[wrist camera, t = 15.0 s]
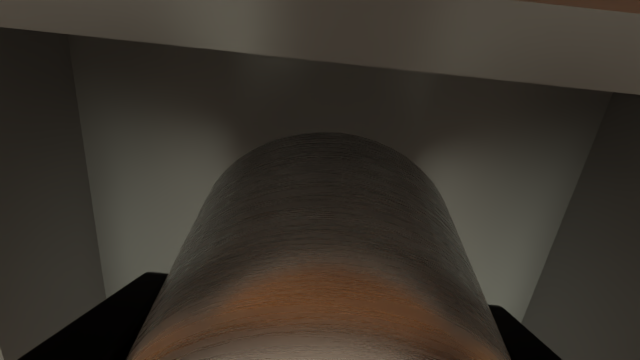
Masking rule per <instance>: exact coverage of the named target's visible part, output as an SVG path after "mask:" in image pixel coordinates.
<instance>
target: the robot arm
mask: <svg viewBox="0 0 640 360" xmlns="http://www.w3.org/2000/svg"><path fill="white" fill-rule="evenodd" d="M167 276H168V273H159V272H146V273H144V274H142V275H141V276H139V277H138V278H136V279H135V280H133V281H132V282H130V283H129V284H127V285H126V286H124V287H123V288H121V289H120V290H118V291H117V292H116V293H114V294H113V295H111V296H110V297H108V298H107V299H105V300H104V301H102V302H101V303H99V304H98V305H96V306H95V307H93V308H92V309H90V310H89V311H88V312H86V313H85V314H83V315H82V316H80V317H79V318H77V319H76V320H74V321H73V322H71V323H70V324H68V325H67V326H65V327H64V328H63V329H61V330H60V331H58V332H57V333H55V334H54V335H52V336H51V337H49V338H48V339H46V340H45V341H43V342H42V343H40V344H39V345H38V346H36V347H35V348H33V349H32V350H30V351H29V352H27V353H26V354H24V355H23V356H21V357H20V358H18V359H17V360H126V358H127V356H128V354H129V352H130V350H131V348H132V346H133V344H134V342H135V340H136V338H137V336H138V334H139V332H140V330H141V328H142V326H143V324H144V322H145V320H146V318H147V316H148V314H149V312H150V310H151V308H152V306H153V304H154V302H155V300H156V298H157V296H158V294H159V292H160V290H161V288H162V286H163V284H164V282H165V280H166V278H167ZM488 306H489V308H490V310H491V313H492V315H493V318H494V320H495V322H496V325H497V327H498V329H499V332H500V334H501V337H502V339H503V341H504V344H505V346H506V348H507V351H508V353H509V356H510V358H511V360H562V359H561V358H560V357H559V356H558V355H557V354H555V353H554V352H553V351H552V350H551V349H550V348H549V347H548V346H546V345H545V344H544V343H543V342H542V341H541V340H540V339H538V338H537V337H536V336H535V335H534V334H533V333H532V332H530V331H529V330H528V329H527V328H526V327H525V326H524V325H523V324H521V323H520V322H519V321H518V320H517V319H516V318H515V317H513V316H512V315H511V314H510V313H509V312H508V311H507V310H505V309H504V308H503V307H501V306H499V305H491V304H488Z"/></svg>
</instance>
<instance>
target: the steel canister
mask: <svg viewBox="0 0 640 360" xmlns="http://www.w3.org/2000/svg"><path fill="white" fill-rule="evenodd" d="M126 360H511V358H510V356H509V353H508V351H507V348H506V346H505V344H504V341H503V339H502V337H501V334H500V332H499V329H498V327H497V325H496V322H495V320H494V318H493V315H492V313H491V310H490V308H489V306H488V303H487V301H486V299H485V296H484V294H483V292H482V289H481V287H480V284H479V282H478V280H477V277H476V275H475V273H474V270H473V268H472V265H471V263H470V261H469V258H468V256H467V254H466V251H465V249H464V246H463V244H462V242H461V239H460V237H459V235H458V232H457V230H456V227H455V225H454V223H453V220H452V218H451V216H450V213H449V211H448V209H447V206H446V204H445V202H444V200H443V198H442V196H441V194H440V192H439V191H438V189H437V188H436V186H435V185H434V183H433V182H432V180H431V179H430V178H429V177H428V176H427V175H426V174H425V173H424V172H423V170H422V169H421V168H420V167H418V166H417V165H416V164H415V163H413V162H412V161H411V160H410V159H409V158H407V157H406V156H404V155H402V154H401V153H399V152H398V151H396V150H394V149H393V148H391V147H388V146H386V145H384V144H381V143H379V142H377V141H374V140H371V139H368V138H364V137H361V136H357V135H351V134H345V133H339V132H311V133H300V134H296V135H291V136H286V137H282V138H279V139H276V140H273V141H271V142H268V143H265V144H263V145H261V146H259V147H257V148H255V149H253V150H251V151H250V152H248V153H247V154H245V155H244V156H242V157H241V158H239V159H238V160H236V161H235V162H234V163H233V164H232V165H231V166H230V167H229V168H228V169H227V170H225V171H224V173H223V174H222V175H221V176H220V177H219V179H218V180H217V181H216V182H215V184H214V185H213V187H212V189H211V190H210V192H209V194H208V196H207V197H206V199H205V201H204V203H203V205H202V207H201V209H200V211H199V213H198V215H197V217H196V219H195V221H194V223H193V225H192V227H191V229H190V231H189V233H188V235H187V237H186V239H185V241H184V243H183V246H182V248H181V250H180V252H179V254H178V256H177V258H176V260H175V262H174V264H173V266H172V268H171V270H170V272H169V274H168V276H167V278H166V280H165V282H164V284H163V286H162V288H161V290H160V292H159V294H158V296H157V298H156V300H155V302H154V304H153V306H152V308H151V310H150V312H149V314H148V316H147V318H146V320H145V322H144V324H143V326H142V328H141V330H140V332H139V334H138V336H137V338H136V340H135V342H134V344H133V346H132V348H131V350H130V352H129V354H128V356H127V358H126Z"/></svg>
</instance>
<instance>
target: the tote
mask: <svg viewBox="0 0 640 360" xmlns="http://www.w3.org/2000/svg"><path fill="white" fill-rule="evenodd" d="M311 132H339V133H345V134H351V135H357V136H361V137H364V138H368V139H371V140H374V141H377V142H379V143H381V144H384V145H386V146H388V147H391V148H393V149H394V150H396V151H398V152H399V153H401V154H402V155H404V156H406V157H407V158H409V159H410V160H411V161H412V162H413V163H415V164H416V165H417V166H418V167H420V168H421V169H422V170H423V172H424V173H425V174H426V175H427V176H428V177H429V178H430V179H431V180H432V182H433V183H434V185H435V186H436V188H437V189H438V191H439V192H440V194H441V196H442V198H443V200H444V202H445V204H446V206H447V209H448V211H449V213H450V216H451V218H452V220H453V223H454V225H455V227H456V230H457V232H458V235H459V237H460V239H461V242H462V244H463V246H464V249H465V251H466V254H467V256H468V258H469V261H470V263H471V265H472V268H473V270H474V273H475V275H476V277H477V280H478V282H479V284H480V287H481V289H482V292H483V294H484V296H485V299H486V301H487V303H488V304H491V305H499V306H501V307H503V308H504V309H505V310H507V311H508V312H509V313H510V314H511V315H512V316H513V317H515V318H516V319H517V320H518V321H519V322H520V323H521V324H523V325H524V326H525V327H526V328H527V329H528V330H529V331H530V332H532V333H533V334H534V335H535V336H536V337H537V338H538V339H540V340H541V341H542V342H543V343H544V344H545V345H546V346H548V347H549V348H550V349H551V350H552V351H553V352H554V353H555V354H557V355H558V356H559V357H560V358H561V359H562V360H640V0H0V360H17V359H18V358H20V357H21V356H23V355H24V354H26V353H27V352H29V351H30V350H32V349H33V348H35V347H36V346H38V345H39V344H40V343H42V342H43V341H45V340H46V339H48V338H49V337H51V336H52V335H54V334H55V333H57V332H58V331H60V330H61V329H63V328H64V327H65V326H67V325H68V324H70V323H71V322H73V321H74V320H76V319H77V318H79V317H80V316H82V315H83V314H85V313H86V312H88V311H89V310H90V309H92V308H93V307H95V306H96V305H98V304H99V303H101V302H102V301H104V300H105V299H107V298H108V297H110V296H111V295H113V294H114V293H116V292H117V291H118V290H120V289H121V288H123V287H124V286H126V285H127V284H129V283H130V282H132V281H133V280H135V279H136V278H138V277H139V276H141V275H142V274H144V273H146V272H159V273H168V274H169V272H170V270H171V268H172V266H173V264H174V262H175V260H176V258H177V256H178V254H179V252H180V250H181V248H182V246H183V243H184V241H185V239H186V237H187V235H188V233H189V231H190V229H191V227H192V225H193V223H194V221H195V219H196V217H197V215H198V213H199V211H200V209H201V207H202V205H203V203H204V201H205V199H206V197H207V196H208V194H209V192H210V190H211V189H212V187H213V185H214V184H215V182H216V181H217V180H218V179H219V177H220V176H221V175H222V174H223V173H224V171H225V170H227V169H228V168H229V167H230V166H231V165H232V164H233V163H234V162H235V161H236V160H238V159H239V158H241V157H242V156H244V155H245V154H247V153H248V152H250V151H251V150H253V149H255V148H257V147H259V146H261V145H263V144H265V143H268V142H271V141H273V140H276V139H279V138H282V137H286V136H291V135H296V134H300V133H311Z"/></svg>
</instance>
